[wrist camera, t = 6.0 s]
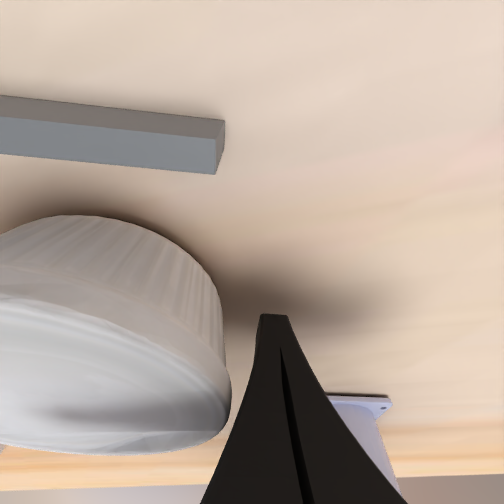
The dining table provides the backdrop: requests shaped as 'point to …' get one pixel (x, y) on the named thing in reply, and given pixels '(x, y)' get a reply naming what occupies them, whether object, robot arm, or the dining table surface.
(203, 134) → the bay
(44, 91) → the dining table surface
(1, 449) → the supplement bottle
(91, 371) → the ramekin
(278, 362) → the robot arm
